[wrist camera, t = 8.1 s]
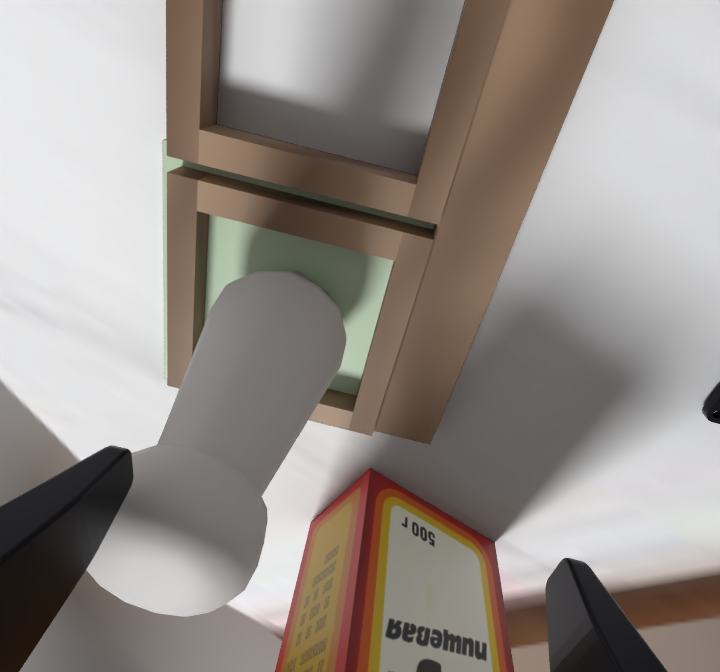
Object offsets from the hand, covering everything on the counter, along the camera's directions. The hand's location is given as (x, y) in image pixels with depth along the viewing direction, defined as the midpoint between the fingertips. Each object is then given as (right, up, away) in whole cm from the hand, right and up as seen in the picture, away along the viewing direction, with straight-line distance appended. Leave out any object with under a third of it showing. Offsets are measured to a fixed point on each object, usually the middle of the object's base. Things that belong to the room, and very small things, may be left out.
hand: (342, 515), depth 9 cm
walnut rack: (0, +9, +9) cm, 13 cm away
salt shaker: (-3, +5, +12) cm, 13 cm away
